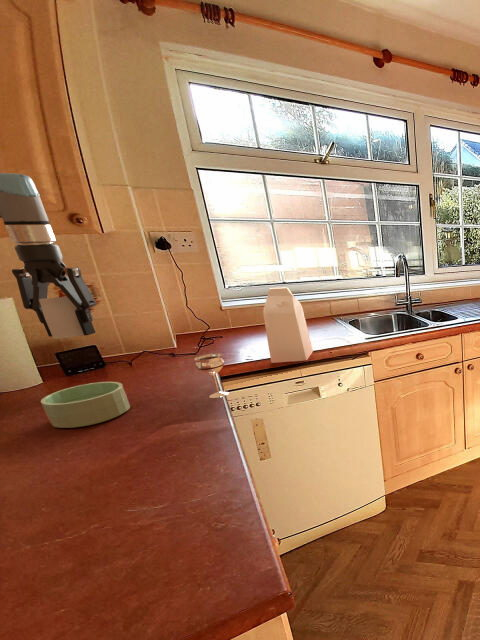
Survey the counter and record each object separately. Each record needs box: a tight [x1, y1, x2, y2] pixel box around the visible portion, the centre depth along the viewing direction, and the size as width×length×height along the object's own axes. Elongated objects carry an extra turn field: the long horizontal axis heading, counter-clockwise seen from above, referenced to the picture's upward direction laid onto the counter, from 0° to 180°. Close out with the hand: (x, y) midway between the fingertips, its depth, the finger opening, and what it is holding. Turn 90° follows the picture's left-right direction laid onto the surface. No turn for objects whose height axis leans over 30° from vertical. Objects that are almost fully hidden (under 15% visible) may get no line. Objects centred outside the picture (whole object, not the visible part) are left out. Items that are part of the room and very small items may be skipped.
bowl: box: [40, 381, 131, 429], centre depth 113 cm, size 16×16×7 cm
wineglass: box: [193, 352, 229, 399], centre depth 125 cm, size 7×7×12 cm
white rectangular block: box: [39, 296, 85, 340], centre depth 110 cm, size 4×7×10 cm, turn 127°
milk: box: [262, 287, 314, 364], centre depth 156 cm, size 12×12×26 cm
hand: (72, 334), depth 111 cm, fingers closed on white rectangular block, 8 cm apart
